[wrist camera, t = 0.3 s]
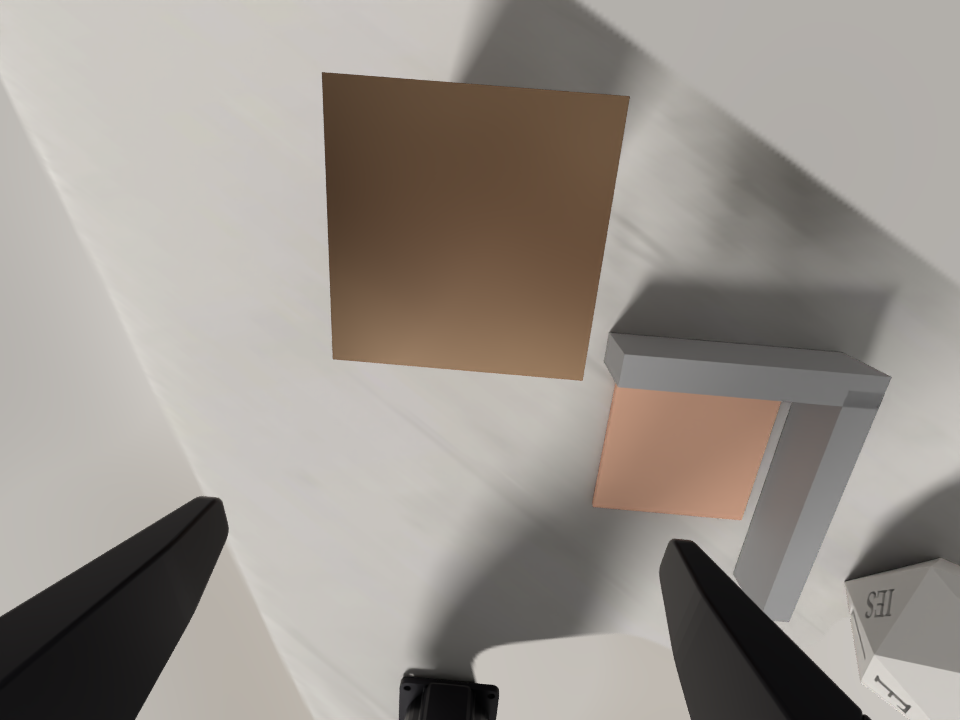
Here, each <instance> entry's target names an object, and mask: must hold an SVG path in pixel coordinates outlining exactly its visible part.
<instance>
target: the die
mask: <svg viewBox="0 0 960 720" xmlns="http://www.w3.org/2000/svg"><path fill="white" fill-rule="evenodd" d="M845 588H846V595H847V601H848V607H849V613H850V614H851V615H852V617H851V619H850V620H851V626H852V633H853V639H854V645H855V652H856V658H857V664H858V671H859V677H860V682H861V683H862V684H863V685H864V686H866V687H867V688H868V689H870V690H871V691H873V692H874V693H875V694H876V695H877V696H879V697H880V698H882V699H883V700H884V701H885V702H887V703H888V704H889V705H891V706H892V707H893V708H895V709H896V710H897V711H898V712H900V713H901V714H902V715H904V716H905V717H906V718H908V719H909V720H960V566H959V565H957V564H954V563H952V562H950V561H947V560H945V559H943V558H938V559H934V560H930V561H926V562H922V563H918V564H914V565H910V566H906V567H902V568H898V569H894V570H890V571H886V572H882V573H877V574H873V575H869V576H865V577H861V578H857V579H853V580H849V581H845Z"/></svg>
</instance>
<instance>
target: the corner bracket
mask: <svg viewBox="0 0 960 720" xmlns="http://www.w3.org/2000/svg"><path fill="white" fill-rule="evenodd" d="M604 363H605V365H606V367H607V368H608V370H609V372H610V374H611V376H612V377H613V379H614V381H615V383H616V384H617V386H618V387H621V388H633V389H644V390H656V391H667V392H679V393H691V394H702V395H714V396H725V397H737V398H749V399H760V400H772V401H783V402H792V405H791V408H790V411H789V414H788V417H787V420H786V423H785V425H784V428H783V431H782V434H781V437H780V440H779V443H778V446H777V449H776V452H775V454H774V457H773V460H772V463H771V466H770V469H769V472H768V475H767V478H766V481H765V483H764V486H763V489H762V492H761V495H760V498H759V501H758V504H757V507H756V510H755V512H754V515H753V518H752V521H751V524H750V527H749V530H748V533H747V536H746V539H745V541H744V544H743V547H742V550H741V553H740V556H739V559H738V562H737V565H736V568H735V570H734V573H733V575H734V577H735V578H736V580H737V582H738V583H739V585H740V587H741V588H742V590H743V591H744V592H745V593H746V594H747V595H748V596H749V597H750V598H751V599H752V600H753V601H754V602H755V603H756V605H757V606H758V607H759V608H760V609H761V610H762V611H763V612H764V613H765V614H766V615H767V616H768V617H769V618H770V619H771V620H772V621H782V622H789V621H790V618H791V616H792V614H793V611H794V609H795V607H796V604H797V602H798V599H799V597H800V595H801V592H802V590H803V587H804V585H805V583H806V580H807V578H808V576H809V573H810V571H811V568H812V566H813V564H814V561H815V559H816V556H817V554H818V552H819V549H820V547H821V544H822V542H823V540H824V537H825V535H826V533H827V530H828V528H829V525H830V523H831V521H832V518H833V516H834V513H835V511H836V509H837V506H838V504H839V502H840V499H841V497H842V494H843V492H844V490H845V487H846V485H847V482H848V480H849V478H850V475H851V473H852V470H853V468H854V466H855V463H856V461H857V459H858V456H859V454H860V451H861V449H862V447H863V444H864V442H865V439H866V437H867V435H868V432H869V430H870V428H871V425H872V423H873V420H874V418H875V416H876V413H877V411H878V408H879V406H880V404H881V401H882V399H883V397H884V394H885V392H886V389H887V387H888V385H889V382H890V380H891V377H890V376H888V375H886V374H884V373H882V372H880V371H878V370H877V369H875V368H873V367H871V366H869V365H867V364H865V363H863V362H861V361H859V360H857V359H855V358H853V357H851V356H849V355H847V354H845V353H843V352H832V351H820V350H808V349H796V348H784V347H773V346H761V345H749V344H737V343H725V342H714V341H702V340H690V339H678V338H666V337H655V336H643V335H631V334H619V333H609V337H608V342H607V348H606V353H605V359H604Z"/></svg>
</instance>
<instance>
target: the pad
mask: <svg viewBox="0 0 960 720" xmlns="http://www.w3.org/2000/svg"><path fill="white" fill-rule="evenodd" d="M780 404H781V401H772V400H760V399H749V398H737V397H725V396H714V395H702V394H691V393H679V392H667V391H656V390H644V389H633V388H621V387H618V386H617V384H616V383H615V388H614V394H613V399H612V404H611V409H610V414H609V419H608V424H607V430H606V435H605V440H604V445H603V450H602V455H601V461H600V466H599V471H598V476H597V481H596V486H595V492H594V497H593V502H592V504H593V507H600V508H611V509H622V510H633V511H644V512H655V513H667V514H678V515H689V516H700V517H711V518H722V519H734V520H742V517H743V514H744V511H745V508H746V505H747V502H748V499H749V496H750V493H751V490H752V487H753V484H754V481H755V478H756V475H757V472H758V469H759V466H760V463H761V460H762V457H763V454H764V451H765V449H766V446H767V443H768V440H769V437H770V434H771V431H772V428H773V425H774V422H775V419H776V416H777V413H778V410H779V407H780Z"/></svg>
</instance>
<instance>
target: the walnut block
mask: <svg viewBox="0 0 960 720" xmlns="http://www.w3.org/2000/svg"><path fill="white" fill-rule="evenodd" d="M322 88H323V114H324V140H325V166H326V193H327V219H328V245H329V272H330V298H331V324H332V351H333V359H337V360H349V361H360V362H372V363H383V364H395V365H407V366H418V367H430V368H441V369H453V370H464V371H476V372H488V373H499V374H511V375H522V376H534V377H545V378H557V379H569V380H580V381H583V375H584V369H585V363H586V357H587V351H588V345H589V339H590V333H591V327H592V321H593V315H594V309H595V303H596V297H597V291H598V285H599V279H600V273H601V267H602V261H603V255H604V249H605V243H606V237H607V231H608V225H609V219H610V213H611V207H612V201H613V195H614V189H615V183H616V177H617V171H618V165H619V159H620V153H621V147H622V141H623V135H624V129H625V123H626V117H627V111H628V105H629V99H630V96H620V95H607V94H594V93H581V92H568V91H556V90H543V89H530V88H517V87H504V86H491V85H479V84H466V83H453V82H440V81H427V80H415V79H402V78H389V77H376V76H363V75H351V74H338V73H325V72H322Z"/></svg>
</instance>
